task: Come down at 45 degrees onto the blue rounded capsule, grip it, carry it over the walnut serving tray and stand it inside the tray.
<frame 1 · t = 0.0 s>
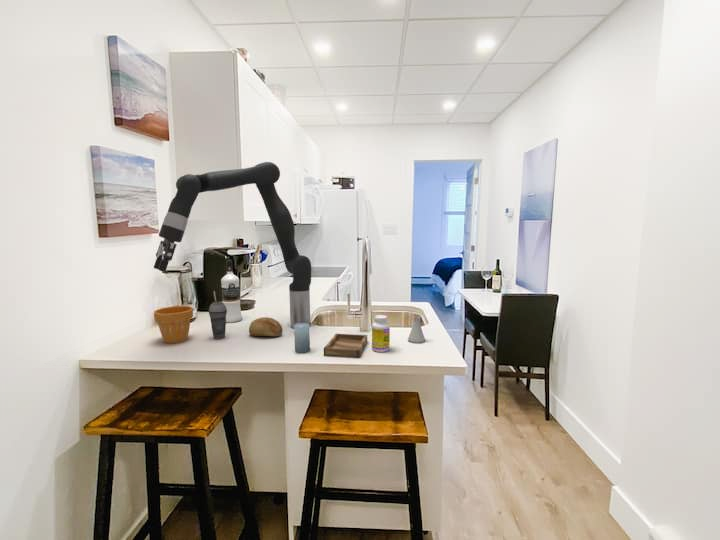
hand: (159, 269, 130), 31 cm above the worktop, tool tilted 20°, fingers open, 8 cm apart
tray: (346, 348, 139), on the worktop
bread roll: (265, 336, 156), on the worktop
flask: (416, 341, 148), on the worktop
beverage cup: (219, 338, 153), on the worktop
vodka: (232, 320, 180), on the worktop
supplement bottle: (380, 350, 138), on the worktop
blue rounded capsule: (302, 350, 137), on the worktop
flower pot: (176, 340, 150), on the worktop
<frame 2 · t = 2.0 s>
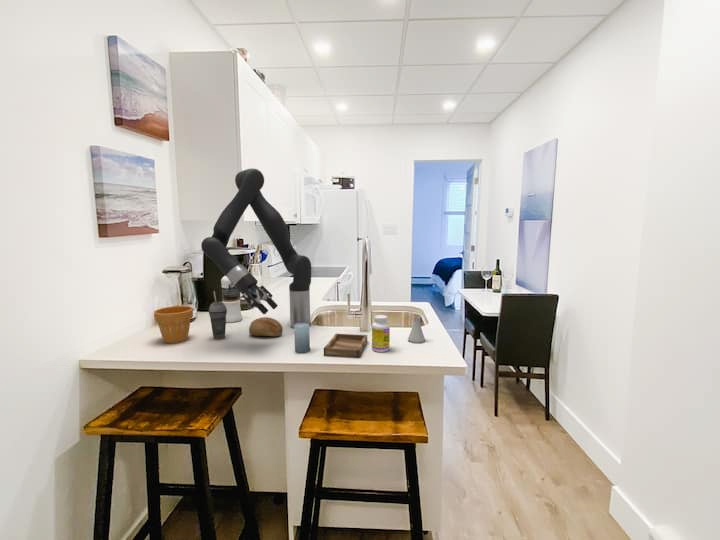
hand: (271, 310, 137), 15 cm above the worktop, tool tilted 45°, fingers open, 8 cm apart
nothing on the worktop moved.
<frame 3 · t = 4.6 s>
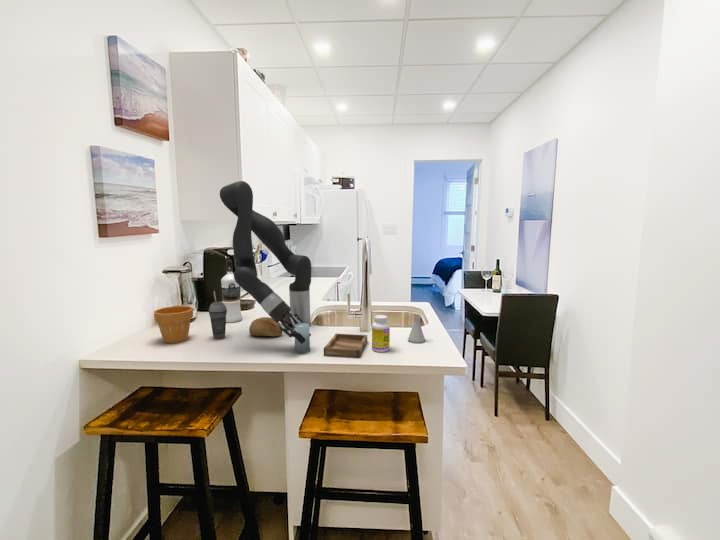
hand: (306, 339, 136), 4 cm above the worktop, tool tilted 45°, fingers closed on blue rounded capsule, 5 cm apart
blue rounded capsule: (302, 350, 137), on the worktop, touching gripper
everything else where it was.
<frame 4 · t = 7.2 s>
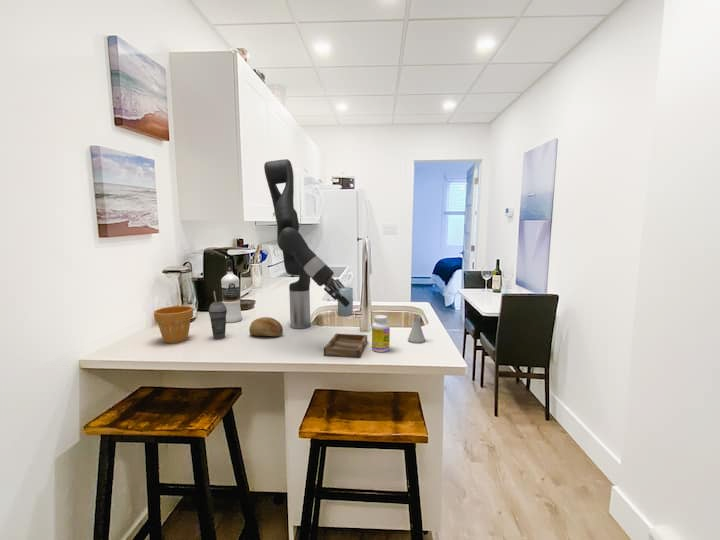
hand: (349, 303, 135), 18 cm above the worktop, tool tilted 45°, fingers closed on blue rounded capsule, 5 cm apart
blue rounded capsule: (345, 314, 136), point 14 cm above the worktop, touching gripper
everything else where it was.
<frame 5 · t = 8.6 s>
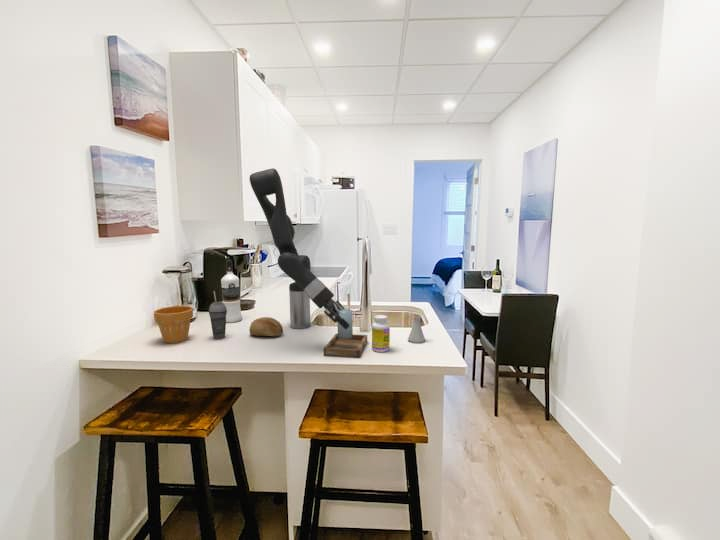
hand: (349, 325, 136), 10 cm above the worktop, tool tilted 45°, fingers closed on blue rounded capsule, 5 cm apart
blue rounded capsule: (345, 336, 137), point 5 cm above the worktop, touching gripper
everything else where it was.
when the fingers open (7 cm above the worktop, at t = 9.7 s): blue rounded capsule drops 1 cm, resting on tray.
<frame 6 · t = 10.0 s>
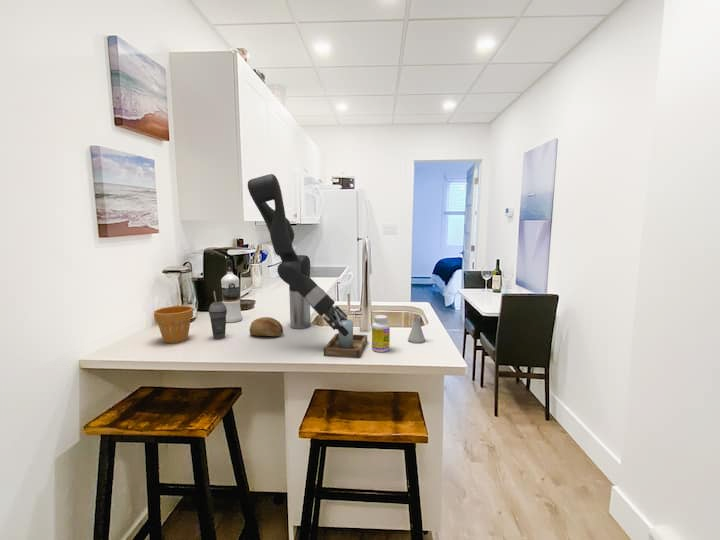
hand: (349, 331, 137), 7 cm above the worktop, tool tilted 45°, fingers open, 8 cm apart
blue rounded capsule: (345, 347, 138), point 1 cm above the worktop, touching tray
everything else where it was.
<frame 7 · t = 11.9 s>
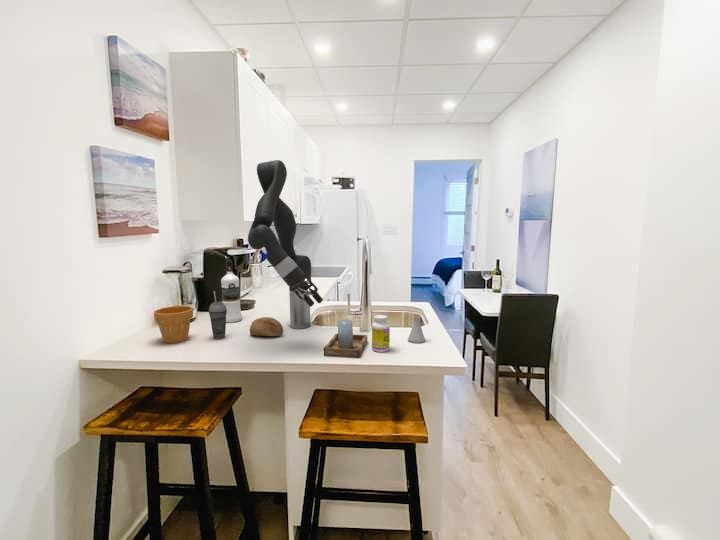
hand: (316, 303, 139), 17 cm above the worktop, tool tilted 40°, fingers open, 8 cm apart
nothing on the worktop moved.
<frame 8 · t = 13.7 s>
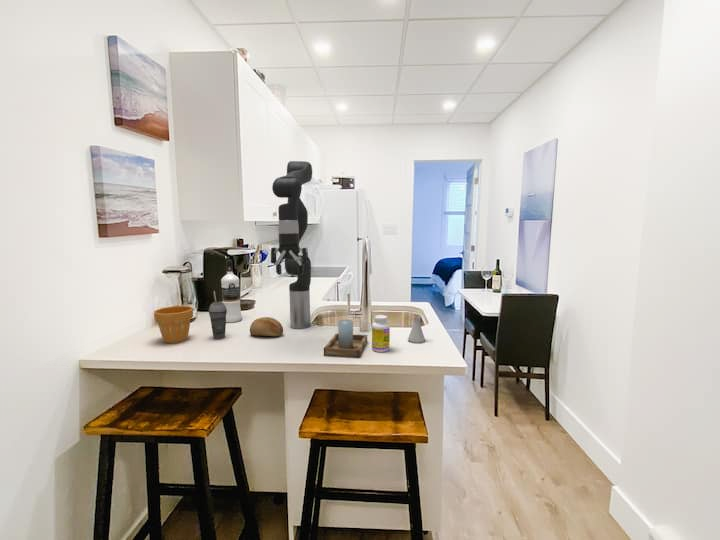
hand: (290, 274, 139), 28 cm above the worktop, tool pointing down, fingers open, 8 cm apart
nothing on the worktop moved.
at the end: blue rounded capsule inside the target area on the tray (1.1 cm from its centre), point 0.9 cm above the tray's base; blue rounded capsule tilted 2°; the gripper is holding nothing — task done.
